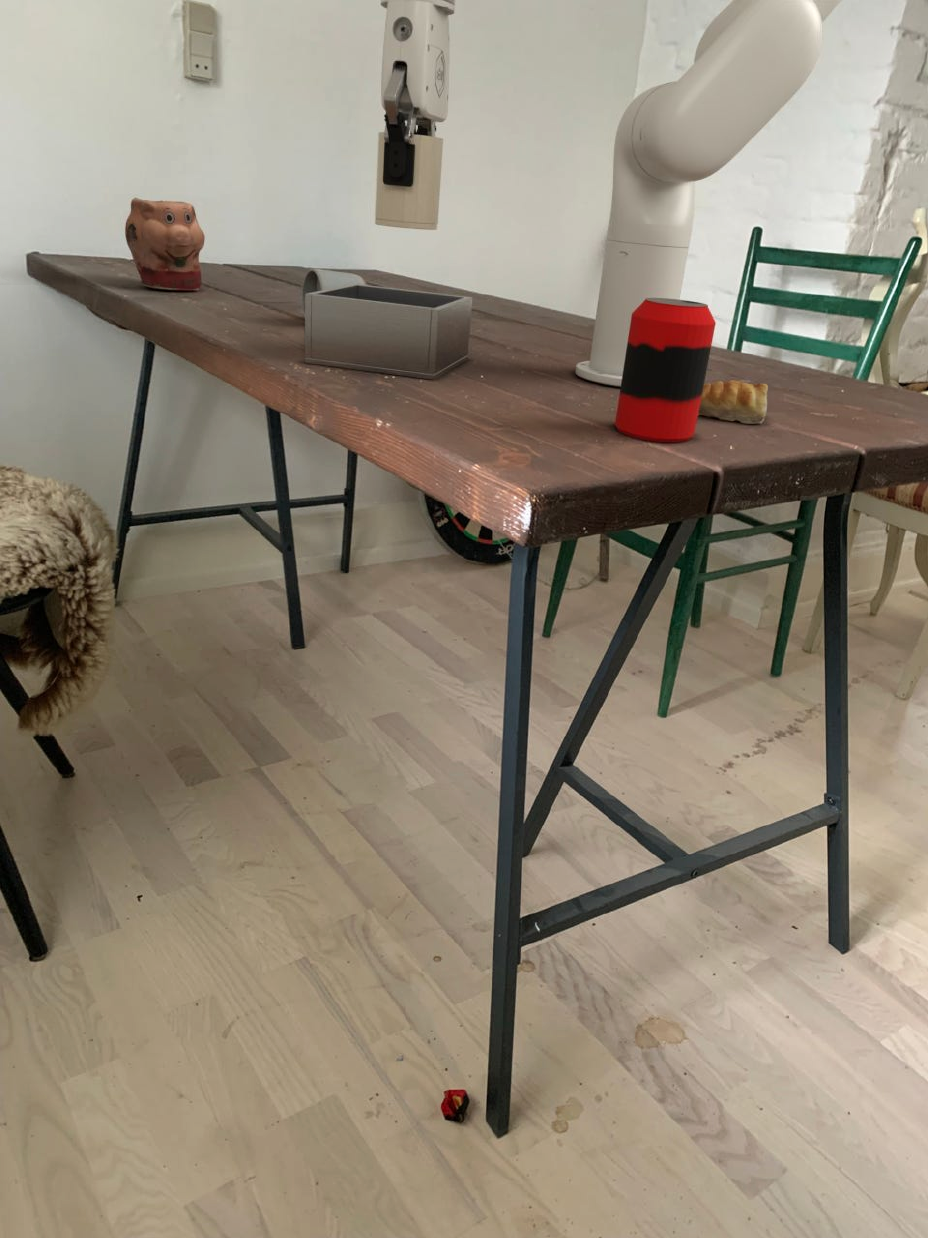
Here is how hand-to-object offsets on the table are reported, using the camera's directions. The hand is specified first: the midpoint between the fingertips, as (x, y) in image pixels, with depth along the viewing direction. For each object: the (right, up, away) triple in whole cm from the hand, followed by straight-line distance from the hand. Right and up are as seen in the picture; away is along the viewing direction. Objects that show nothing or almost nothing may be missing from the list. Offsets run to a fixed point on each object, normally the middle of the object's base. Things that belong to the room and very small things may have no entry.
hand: (408, 184), depth 99 cm
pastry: (+34, -26, -2) cm, 43 cm away
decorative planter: (-45, +9, +57) cm, 73 cm away
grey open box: (-3, -16, +11) cm, 20 cm away
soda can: (+24, -30, -12) cm, 40 cm away
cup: (0, -4, +2) cm, 4 cm away
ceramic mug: (-14, -4, +35) cm, 37 cm away
